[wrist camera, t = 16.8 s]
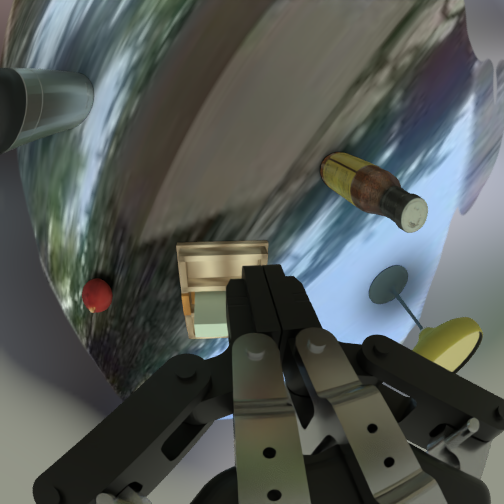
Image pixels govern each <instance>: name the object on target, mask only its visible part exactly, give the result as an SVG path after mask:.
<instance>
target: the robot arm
mask: <svg viewBox="0 0 504 504" xmlns="http://www.w3.org/2000/svg"><path fill="white" fill-rule="evenodd" d="M93 97H94V93H93V87H92V84H91V82H90V81H89V79H88V78H87V77H86V76H85V75H83V74H81V73H76V72H68V71H60V70H49V69H33V68H0V154H2V153H4V152H7V151H9V150H12V149H14V148H16V147H19V146H21V145H24V144H27V143H29V142H32V141H35V140H37V139H40V138H43V137H46V136H49V135H52V134H55V133H59V132H62V131H65V130H69V129H72V128H74V127H76V126H78V125H79V124H80V123H82V122H83V120H84V119H85V118H86V117H87V115H88V114H89V112H90V110H91V107H92V104H93ZM226 321H227V330H228V339H229V347H228V348H227V349H226V350H225V351H224V352H223V353H222V354H220V355H218V356H216V357H213V358H210V359H207V360H204V359H203V358H201V357H199V356H197V355H194V354H180V355H176V356H174V357H172V358H170V359H169V360H168V361H167V362H166V363H165V364H164V365H163V366H161V367H160V368H159V369H158V370H157V371H156V372H155V373H154V374H153V375H152V376H151V377H150V378H149V379H148V380H146V381H145V382H144V383H143V384H142V385H141V386H140V387H139V388H138V389H137V390H136V391H135V392H134V393H132V394H131V395H130V396H129V397H128V398H127V399H126V400H125V401H124V402H123V403H122V404H120V405H119V406H118V407H117V408H116V409H115V410H114V411H113V412H112V413H111V414H110V415H108V416H107V417H106V418H105V419H104V420H103V421H102V422H101V423H99V424H98V425H97V426H96V427H95V428H94V429H93V430H92V431H90V433H88V434H87V435H86V436H85V437H84V438H83V439H82V440H80V441H79V442H78V443H77V444H76V445H75V446H74V447H72V448H71V449H70V450H69V451H68V452H67V453H66V454H64V455H63V456H62V457H61V458H60V459H59V460H57V461H56V462H55V463H54V464H53V465H52V466H50V467H49V468H48V469H47V470H46V471H45V472H43V473H42V474H41V475H40V476H39V477H38V478H37V479H36V480H35V482H34V485H33V496H34V500H35V502H36V504H152V503H151V501H150V500H149V499H148V498H147V495H149V493H150V492H152V490H153V489H154V488H155V487H156V486H157V485H158V484H159V483H160V482H161V481H162V480H163V479H164V478H165V477H166V476H167V475H168V474H169V473H170V472H171V471H172V469H173V468H174V467H175V466H176V465H177V464H178V463H179V462H180V461H181V460H182V458H183V457H184V456H185V455H186V454H187V453H188V452H189V451H190V449H191V448H192V447H193V446H194V445H195V444H196V443H197V441H198V440H199V439H200V438H201V436H202V435H203V434H204V433H205V432H206V431H207V430H208V428H209V427H210V426H211V425H212V424H213V422H214V420H217V419H220V418H222V417H225V416H228V415H230V414H233V428H234V429H233V430H234V456H235V466H234V467H231V468H229V469H227V470H225V471H223V472H221V473H220V474H218V475H216V476H215V477H214V478H212V479H211V480H210V481H209V482H208V483H207V484H206V485H205V486H204V487H203V488H202V489H201V491H200V492H199V493H198V494H197V495H196V497H195V498H194V499H193V500H192V502H191V503H190V504H491V500H490V493H489V490H488V488H487V486H486V485H485V483H484V482H483V481H481V480H480V479H481V476H482V473H483V470H484V467H485V463H486V460H487V457H488V453H489V449H490V446H491V442H492V440H493V439H494V438H495V437H496V436H498V435H499V434H500V433H502V432H503V431H504V399H502V398H500V397H498V396H496V395H494V394H493V393H491V392H489V391H487V390H485V389H483V388H481V387H479V386H477V385H476V384H473V383H472V382H470V381H468V380H466V379H464V378H462V377H460V376H459V375H457V374H455V373H453V372H451V371H449V370H447V369H445V368H444V367H442V366H440V365H438V364H436V363H434V362H432V361H431V360H429V359H427V358H425V357H423V356H421V355H419V354H418V353H416V352H414V351H412V350H410V349H408V348H406V347H405V346H403V345H401V344H399V343H397V342H395V341H394V340H392V339H390V338H388V337H386V336H383V335H371V336H369V337H367V338H366V339H365V340H364V341H363V343H362V345H361V344H351V343H343V342H339V341H337V339H336V338H335V336H334V335H333V334H332V333H330V332H329V331H327V330H325V329H323V328H322V326H321V324H320V322H319V320H318V317H317V315H316V313H315V311H314V309H313V306H312V304H311V302H309V298H308V296H307V294H306V291H305V289H304V287H303V285H302V283H301V282H300V281H298V280H297V279H296V278H295V277H294V276H285V274H284V272H283V269H282V267H281V265H280V264H275V265H262V266H261V265H250V266H242V278H241V279H230V280H229V282H228V284H227V286H226ZM283 374H284V377H285V382H284V377H283ZM383 382H385V383H386V384H388V385H390V386H392V387H393V388H395V389H397V390H399V391H401V392H403V393H405V394H407V395H408V396H410V397H405V396H403V395H401V394H399V393H398V392H396V391H394V390H392V389H390V388H389V387H387V386H385V385H383V384H382V383H383ZM406 439H407V440H409V441H410V442H412V443H414V444H416V445H418V446H420V447H422V448H424V449H426V450H427V452H424V451H422V450H421V449H419V448H417V447H415V446H413V445H412V444H410V443H408V442H407V440H406Z"/></svg>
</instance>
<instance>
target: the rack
mask: <svg viewBox="0 0 504 504" xmlns="http://www.w3.org/2000/svg"><path fill="white" fill-rule="evenodd" d="M176 247H177V257H178V267H179V275H180V284H181V291H182V302H183V309H184V315H185V320H186V326H187V331H188V335H189V339H203V338H228V336H224V337H196V336H195V328H194V308H195V292H199V291H226V286H227V284H228V282H229V280H230V279H241V278H242V266H250V265H261V266H262V265H267V259H268V253H267V252H268V241H267V240H263V241H221V242H185V243H177V245H176Z"/></svg>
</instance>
